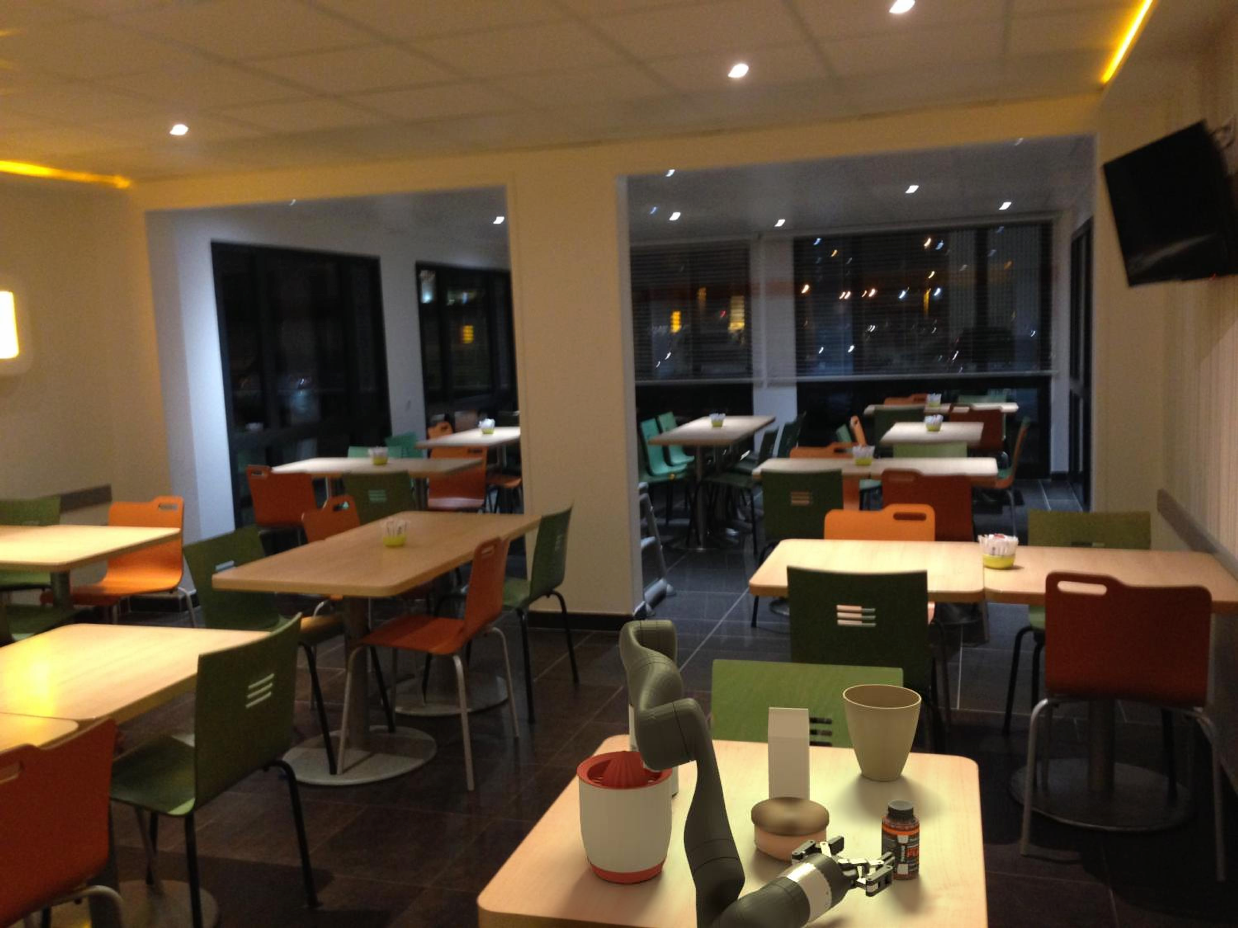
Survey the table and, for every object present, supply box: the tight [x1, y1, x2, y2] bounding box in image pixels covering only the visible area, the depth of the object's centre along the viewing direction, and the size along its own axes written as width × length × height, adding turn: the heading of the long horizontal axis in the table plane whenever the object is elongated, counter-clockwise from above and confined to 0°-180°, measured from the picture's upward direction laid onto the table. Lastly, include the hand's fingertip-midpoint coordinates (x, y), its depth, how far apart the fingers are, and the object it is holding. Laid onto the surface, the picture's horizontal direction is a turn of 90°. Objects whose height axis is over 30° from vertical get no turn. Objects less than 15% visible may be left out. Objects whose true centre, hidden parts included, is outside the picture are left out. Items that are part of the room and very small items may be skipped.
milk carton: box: [767, 707, 811, 800], centre depth 196 cm, size 7×7×19 cm
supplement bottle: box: [880, 799, 921, 880], centre depth 172 cm, size 6×6×11 cm
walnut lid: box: [750, 797, 830, 836], centre depth 180 cm, size 13×13×1 cm
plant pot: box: [842, 683, 922, 782], centre depth 211 cm, size 15×15×16 cm
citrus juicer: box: [576, 749, 673, 885], centre depth 176 cm, size 16×17×20 cm
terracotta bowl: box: [753, 824, 828, 862], centre depth 181 cm, size 12×12×6 cm
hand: (866, 849), depth 164 cm, fingers open, 8 cm apart
